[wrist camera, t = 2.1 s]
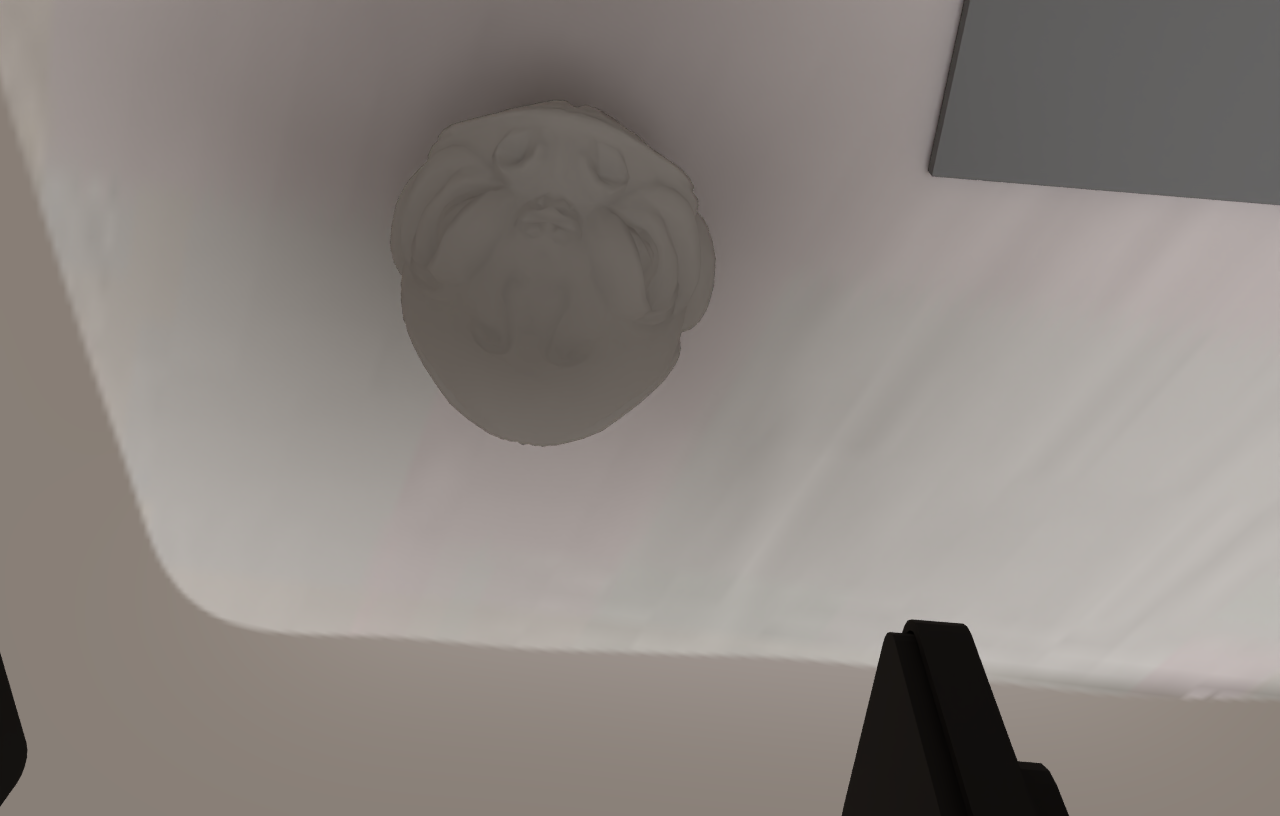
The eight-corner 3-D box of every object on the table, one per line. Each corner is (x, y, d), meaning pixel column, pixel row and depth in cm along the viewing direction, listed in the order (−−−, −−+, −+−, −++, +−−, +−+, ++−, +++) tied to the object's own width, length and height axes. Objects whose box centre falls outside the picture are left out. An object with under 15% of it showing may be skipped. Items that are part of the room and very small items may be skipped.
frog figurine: (744, 75, 21) (767, 178, 15) (674, 373, 24) (670, 556, 18) (447, 13, 21) (347, 94, 15) (418, 325, 24) (328, 495, 18)
